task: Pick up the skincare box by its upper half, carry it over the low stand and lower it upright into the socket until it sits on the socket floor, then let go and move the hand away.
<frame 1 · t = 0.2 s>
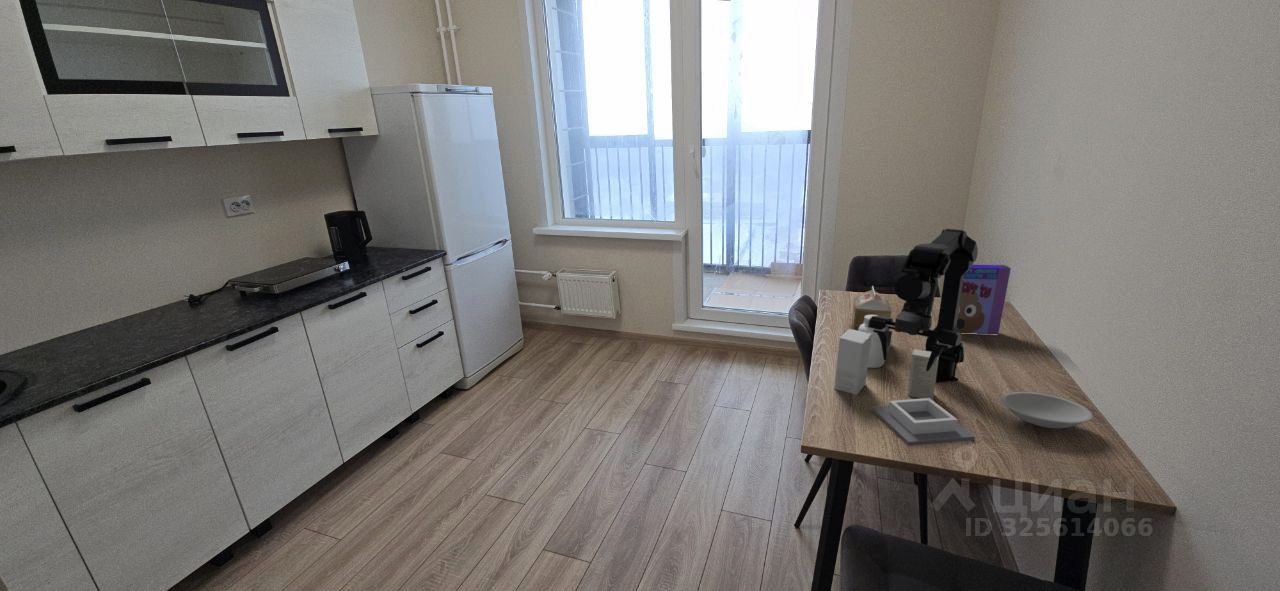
hand: (905, 365, 123), 15 cm above the table, tool pointing down, fingers open, 9 cm apart
milk carton: (867, 345, 174), on the table
skincare box 2: (850, 387, 146), on the table
cereal box: (967, 332, 182), on the table
skincare box: (920, 395, 141), on the table
dish: (1040, 425, 125), on the table
socket stand: (920, 424, 126), on the table
pill bottle: (869, 363, 160), on the table
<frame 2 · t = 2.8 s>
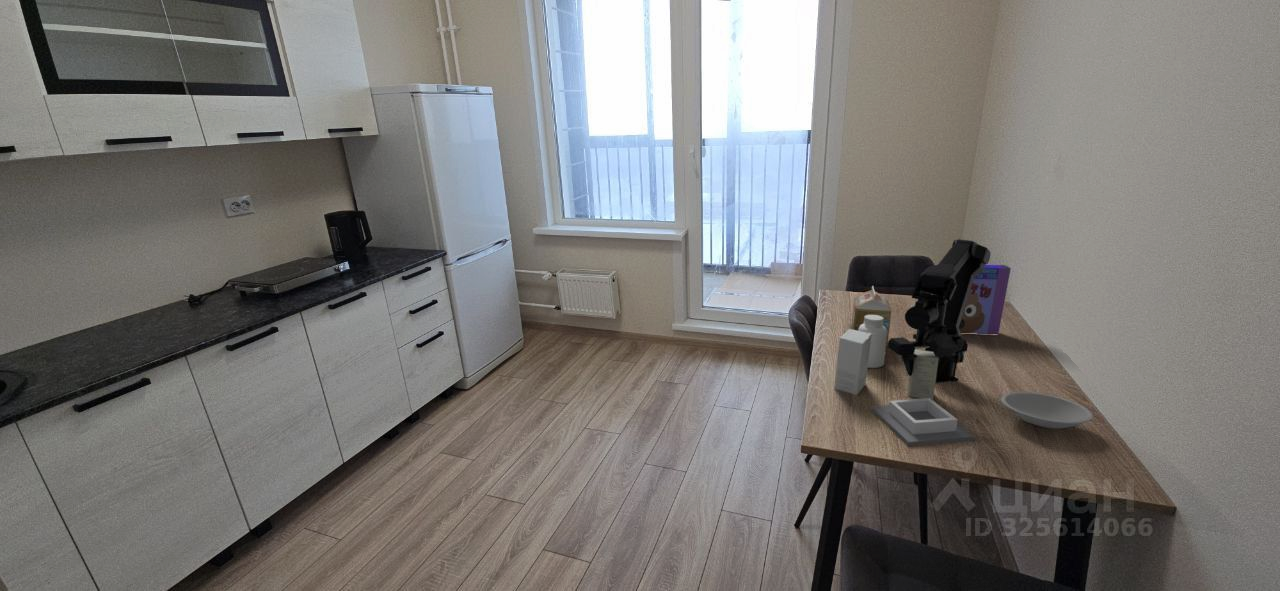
hand: (923, 374, 139), 6 cm above the table, tool pointing down, fingers closed on skincare box, 7 cm apart
skincare box: (920, 395, 141), on the table, touching gripper
everything else where it was.
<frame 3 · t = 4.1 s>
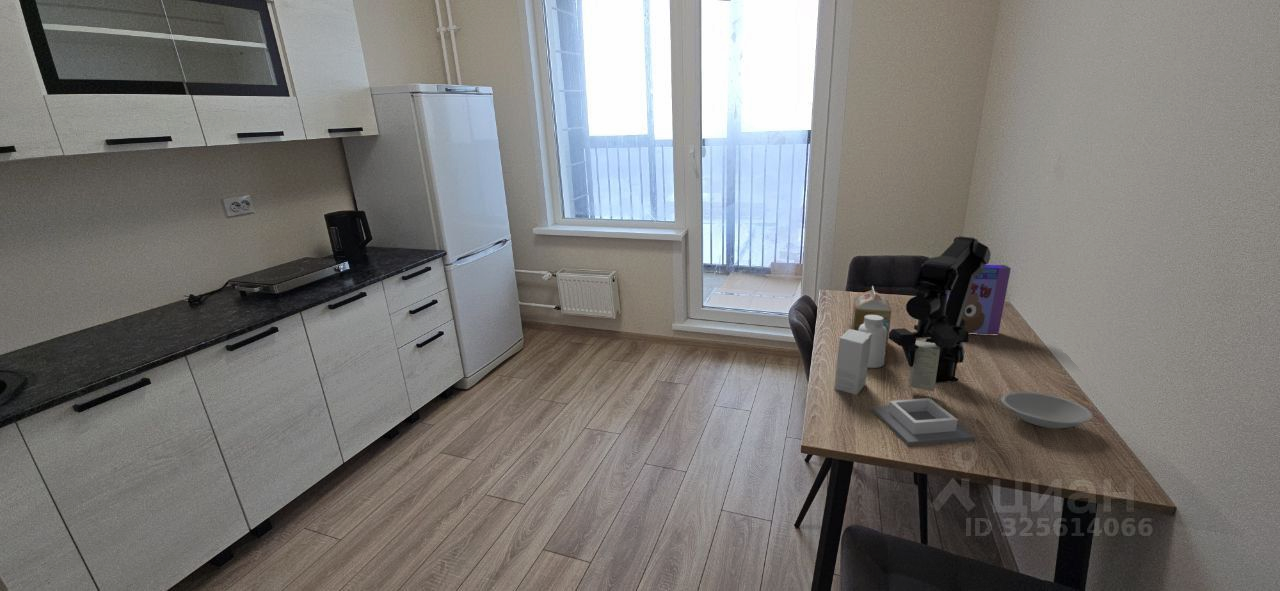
hand: (924, 365, 138), 9 cm above the table, tool pointing down, fingers closed on skincare box, 7 cm apart
skincare box: (920, 387, 140), point 2 cm above the table, touching gripper
everything else where it was.
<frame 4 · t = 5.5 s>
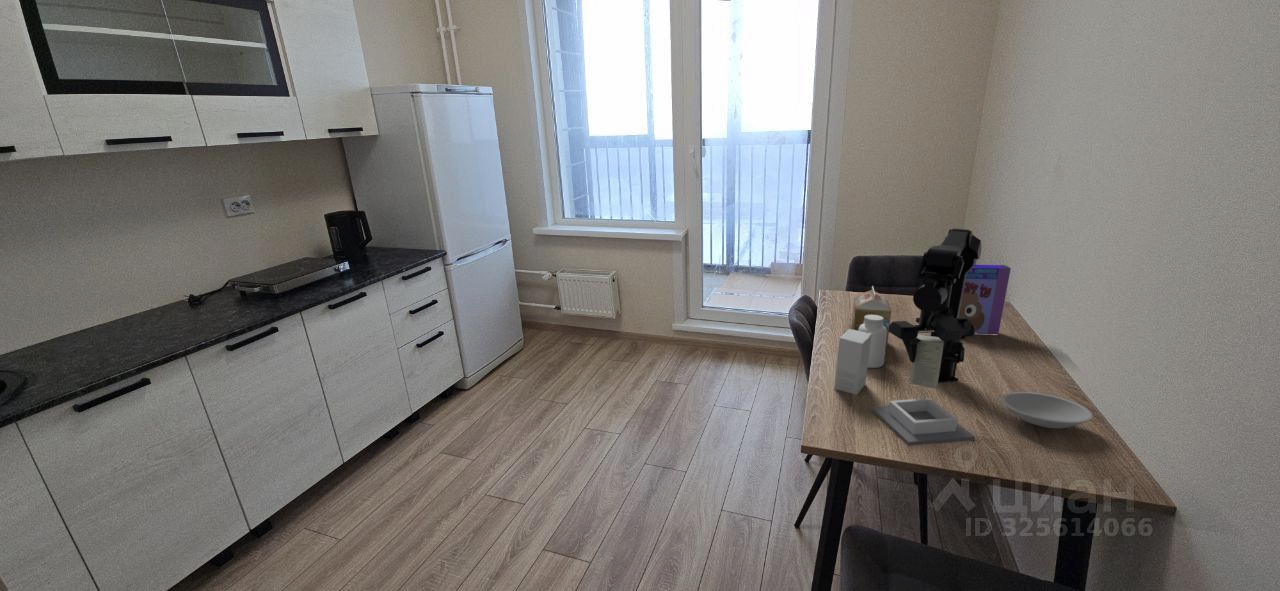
hand: (926, 361, 129), 13 cm above the table, tool pointing down, fingers closed on skincare box, 7 cm apart
skincare box: (922, 384, 131), point 7 cm above the table, touching gripper
everything else where it was.
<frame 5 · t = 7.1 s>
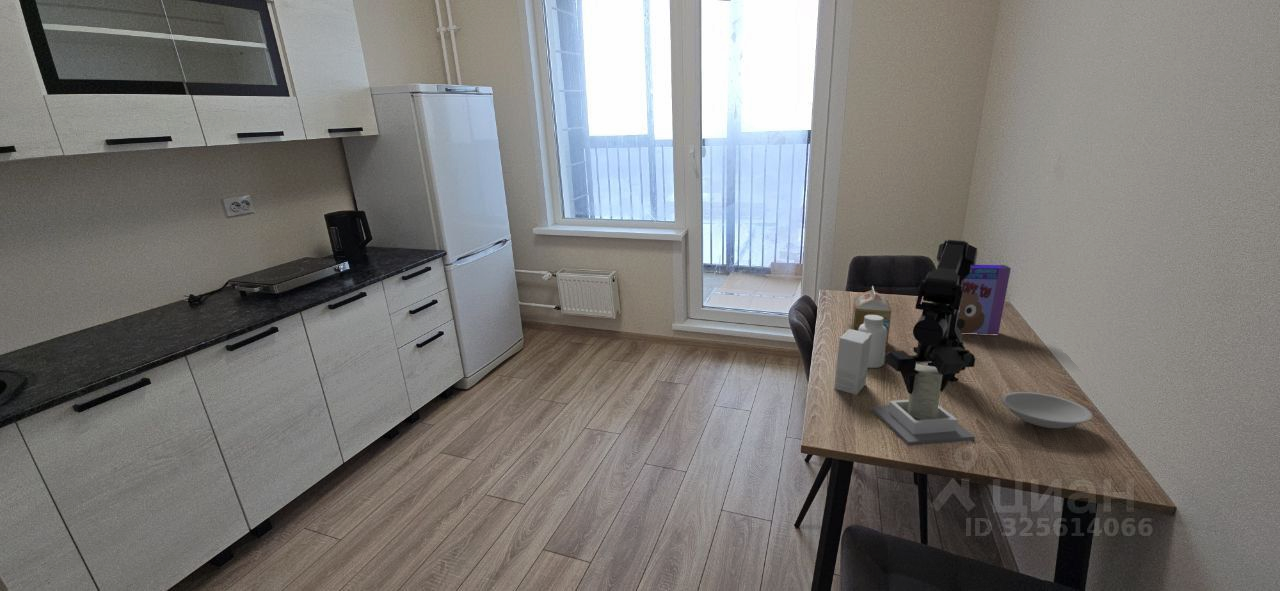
hand: (924, 392, 124), 9 cm above the table, tool pointing down, fingers closed on skincare box, 7 cm apart
skincare box: (921, 415, 126), point 2 cm above the table, touching gripper
everything else where it was.
when the fingers open (8 cm above the table, at t = 8.4 s): skincare box drops 1 cm, resting on socket stand.
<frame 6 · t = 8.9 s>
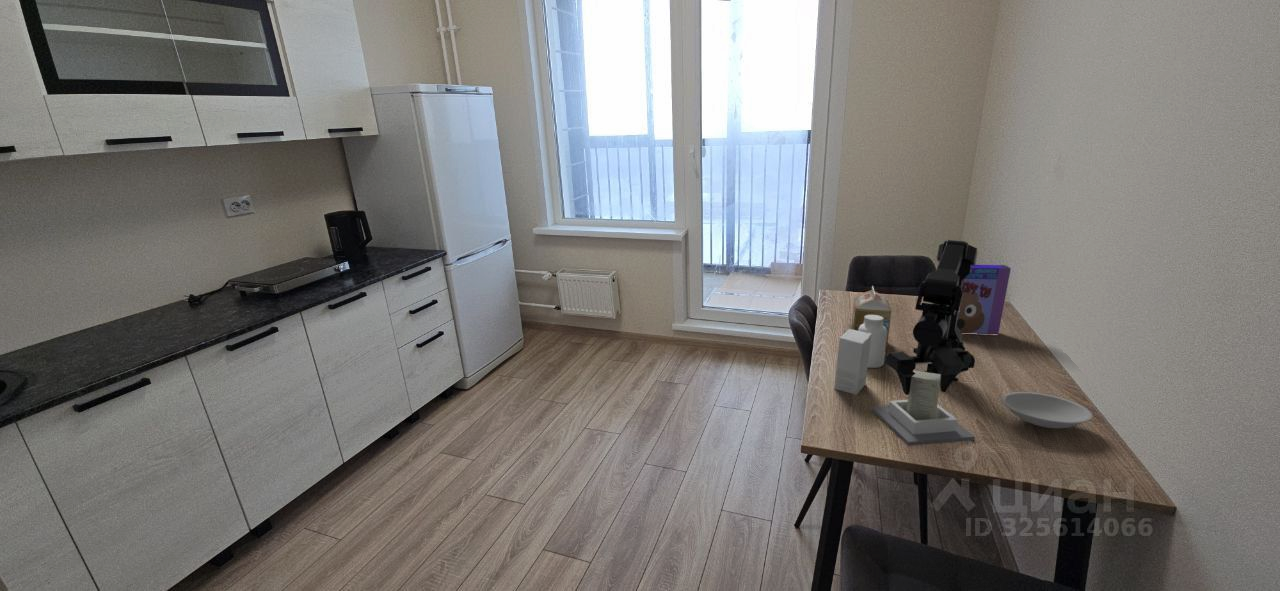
hand: (924, 393, 124), 8 cm above the table, tool pointing down, fingers open, 9 cm apart
skincare box: (919, 421, 126), point 1 cm above the table, touching socket stand
everything else where it was.
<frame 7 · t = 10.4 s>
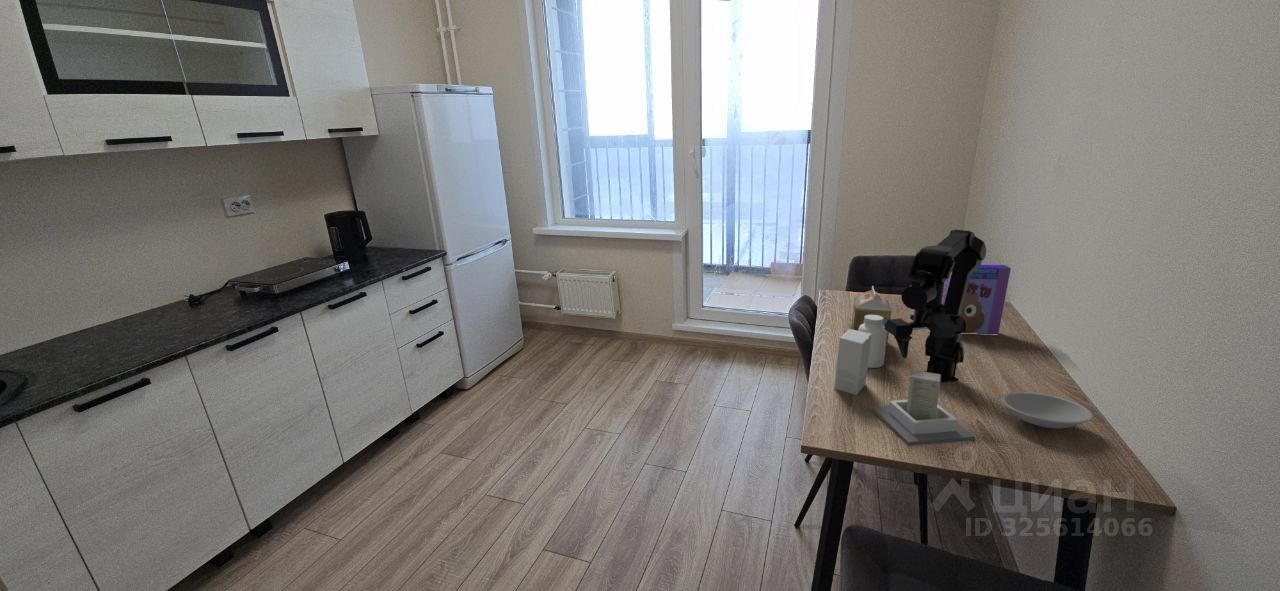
hand: (921, 356, 134), 13 cm above the table, tool pointing down, fingers open, 9 cm apart
nothing on the table moved.
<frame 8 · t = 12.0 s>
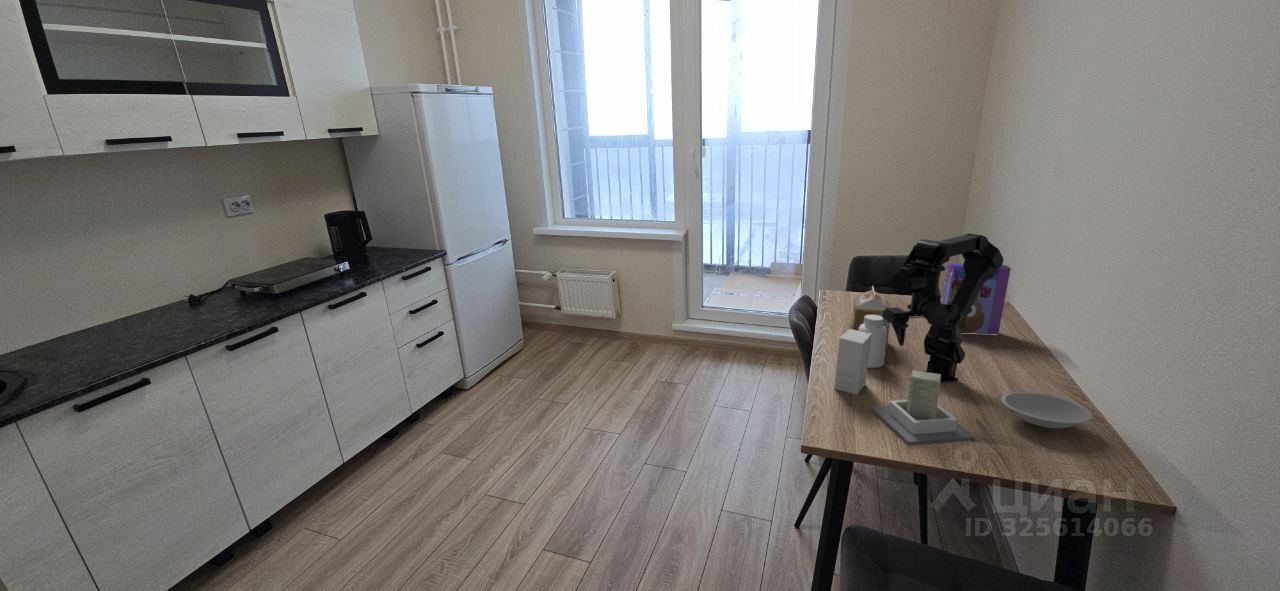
hand: (917, 344, 140), 13 cm above the table, tool pointing down, fingers open, 9 cm apart
nothing on the table moved.
at the end: skincare box 0.2 cm off-centre on the socket stand, point 0.8 cm above the socket stand's base; skincare box tilted 0°; the gripper is holding nothing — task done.
